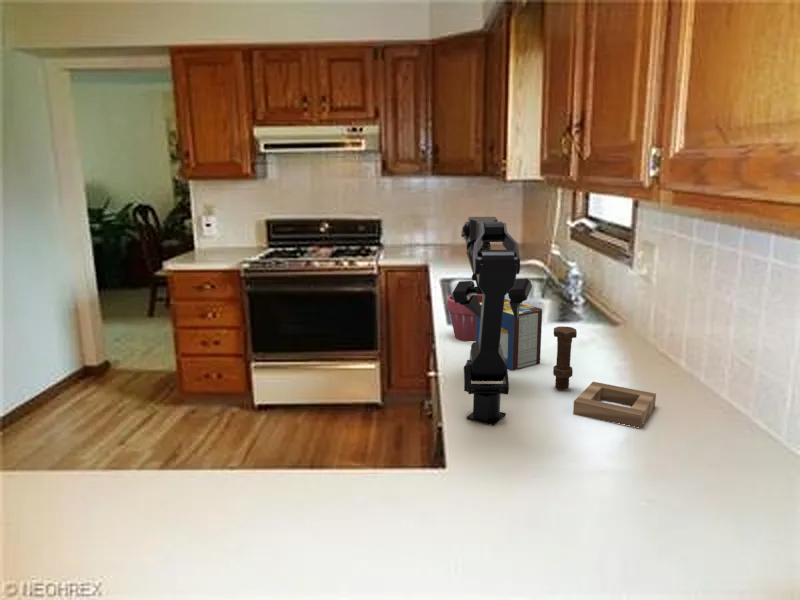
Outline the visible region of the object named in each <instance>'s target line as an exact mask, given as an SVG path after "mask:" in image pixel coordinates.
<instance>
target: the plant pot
mask: <svg viewBox="0 0 800 600" xmlns="http://www.w3.org/2000/svg"><path fill="white" fill-rule="evenodd" d="M477 297H478V300H479V303H481V302H482V295H477ZM446 298H447V299H446V309H447V311H448V312H449V314H450V318H451V324H452V329H453V330H452V331H453V335H454V338H455V339H456V340H458V341H462V342H466V341H476V315H475V314H474V313H473V312H472V311H471V310H469V309H468V308H466V307H465V306H464V305H460V304H459V303H455V302H454V300H453V297H452V294H450V295H448V296H447V297H446Z"/></svg>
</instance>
